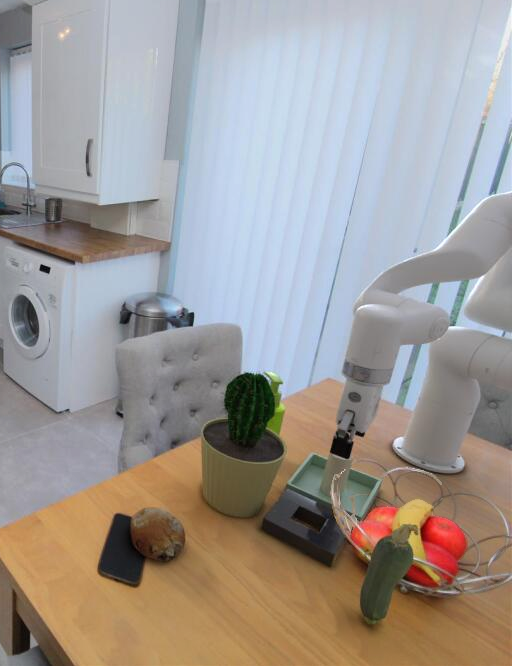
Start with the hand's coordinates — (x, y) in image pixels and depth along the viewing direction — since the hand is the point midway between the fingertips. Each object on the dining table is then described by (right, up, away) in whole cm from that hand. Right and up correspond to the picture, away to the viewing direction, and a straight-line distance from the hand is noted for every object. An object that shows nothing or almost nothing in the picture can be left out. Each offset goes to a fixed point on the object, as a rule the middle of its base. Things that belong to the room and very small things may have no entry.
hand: (347, 444), depth 97 cm
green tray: (0, -11, +4) cm, 12 cm away
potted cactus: (-22, -12, +4) cm, 25 cm away
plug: (-1, -11, +4) cm, 12 cm away
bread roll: (-41, -17, -6) cm, 44 cm away
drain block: (-12, -15, -5) cm, 20 cm away
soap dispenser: (-8, -6, +18) cm, 21 cm away
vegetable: (-12, -22, -21) cm, 33 cm away
